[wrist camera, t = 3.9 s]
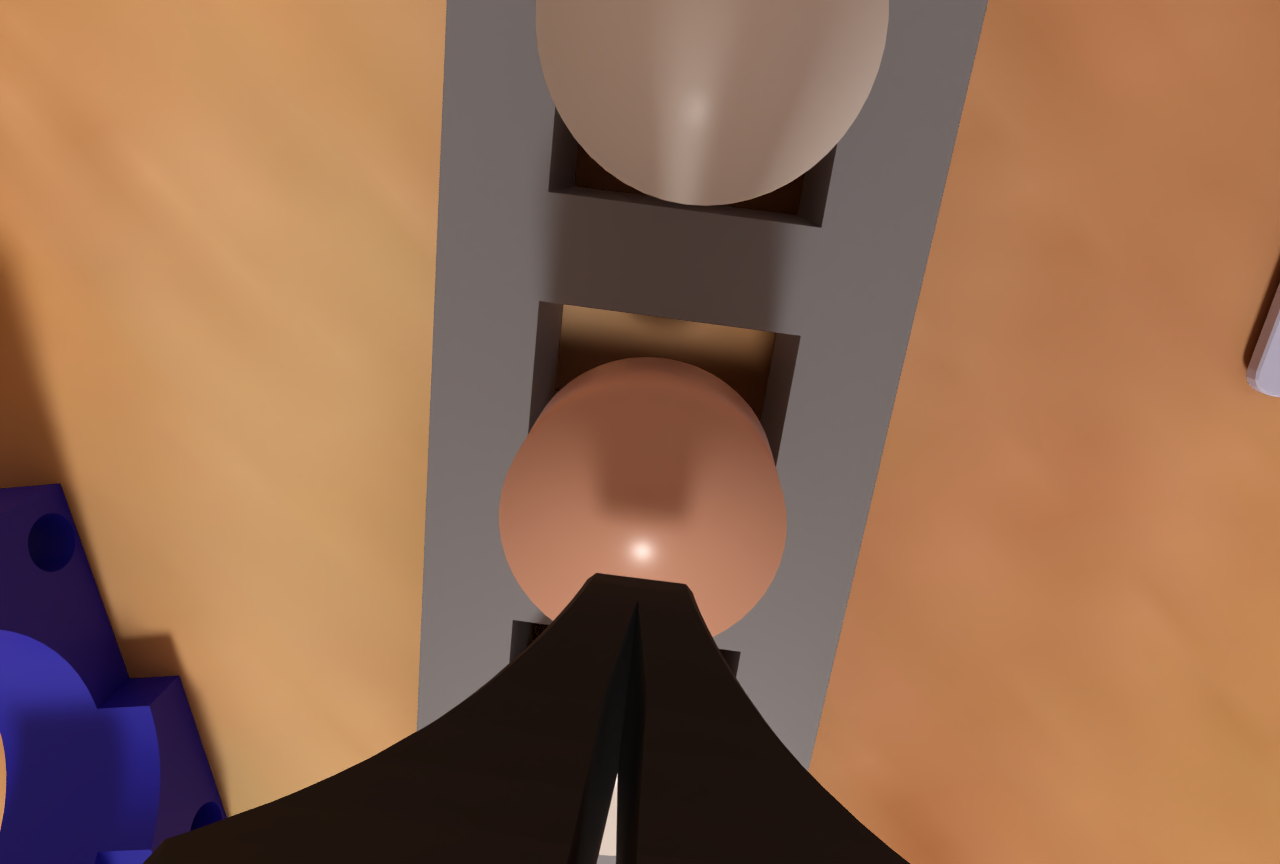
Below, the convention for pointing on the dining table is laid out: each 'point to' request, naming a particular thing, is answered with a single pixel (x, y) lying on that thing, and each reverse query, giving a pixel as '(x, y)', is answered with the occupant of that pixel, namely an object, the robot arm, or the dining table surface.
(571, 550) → the knob middle
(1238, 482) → the dining table surface
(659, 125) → the knob near
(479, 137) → the mount
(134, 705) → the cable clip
